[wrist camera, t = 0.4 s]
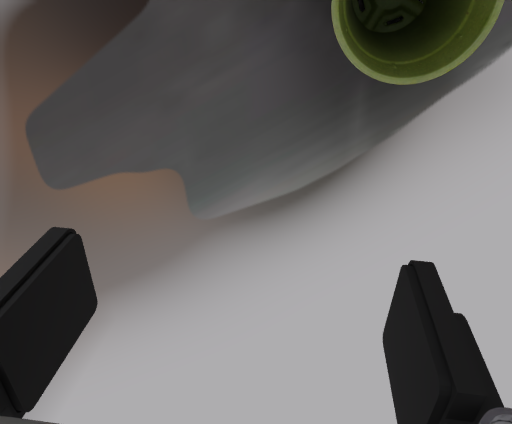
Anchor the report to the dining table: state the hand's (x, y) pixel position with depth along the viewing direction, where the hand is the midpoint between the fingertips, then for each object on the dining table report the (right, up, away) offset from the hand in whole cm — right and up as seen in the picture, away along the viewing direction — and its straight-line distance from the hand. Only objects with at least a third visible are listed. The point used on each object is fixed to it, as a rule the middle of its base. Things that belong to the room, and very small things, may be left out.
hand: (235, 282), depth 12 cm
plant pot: (+13, +23, +26) cm, 37 cm away
